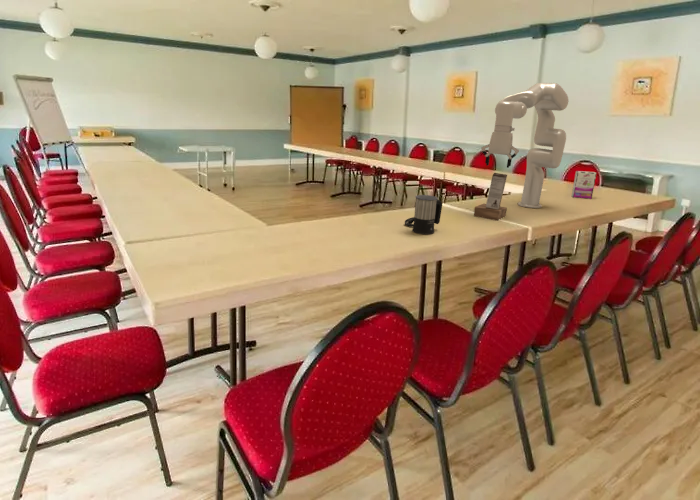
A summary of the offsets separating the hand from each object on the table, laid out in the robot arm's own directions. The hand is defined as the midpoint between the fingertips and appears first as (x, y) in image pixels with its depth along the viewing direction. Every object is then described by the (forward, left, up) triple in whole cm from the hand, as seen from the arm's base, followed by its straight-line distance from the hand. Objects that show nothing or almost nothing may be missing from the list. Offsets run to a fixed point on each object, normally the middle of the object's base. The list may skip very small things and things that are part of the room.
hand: (497, 166), depth 226 cm
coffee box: (0, +1, -20) cm, 20 cm away
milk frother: (+47, -21, -25) cm, 57 cm away
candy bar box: (-95, +39, -25) cm, 105 cm away
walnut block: (+1, 0, -25) cm, 25 cm away
